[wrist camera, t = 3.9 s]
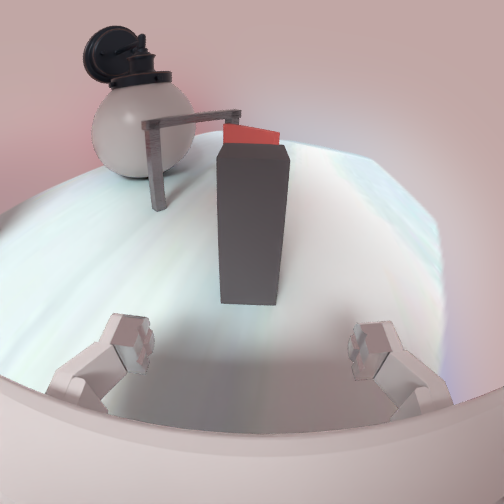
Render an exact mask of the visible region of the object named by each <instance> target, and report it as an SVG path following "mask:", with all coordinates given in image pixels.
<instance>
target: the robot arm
mask: <svg viewBox="0 0 504 504" xmlns="http://www.w3.org/2000/svg"><path fill="white" fill-rule="evenodd" d="M149 326H150V321H149V318H147V317H141V316H133V315H126V314H118V313H113V314H112V315H111V316H110V318H109V321H108V323H107V325H106V327H105V329H104V331H103V333H102V335H101V337H100V339H99V342H94V343H93V344H92V345H90V346H89V347H87V348H86V349H85V350H83V351H82V352H80V353H79V354H78V355H76V356H75V357H74V358H72V359H71V360H69V361H68V362H67V363H65V364H64V365H62V366H61V367H60V368H58V369H57V370H56V371H55V373H54V375H53V378H52V380H51V382H50V384H49V387H48V389H47V391H46V393H45V394H43V393H41V392H38V391H36V390H33V389H31V388H28V387H26V386H24V385H21V384H19V383H17V382H15V381H12V380H10V379H8V378H6V377H4V376H2V375H0V504H504V386H503V387H501V388H498V389H496V390H494V391H491V392H489V393H487V394H484V395H481V396H479V397H476V398H474V399H471V400H468V401H465V402H462V403H459V404H456V405H454V404H453V402H452V399H451V396H450V393H449V391H448V388H447V386H446V383H445V381H444V380H443V379H442V378H440V377H439V376H438V375H437V374H435V373H434V372H433V371H432V370H431V369H429V368H428V367H427V366H426V365H424V364H423V363H422V362H421V361H420V360H418V359H417V358H416V357H415V356H413V355H412V354H411V353H410V352H408V351H404V349H403V347H402V344H401V342H400V339H399V337H398V335H397V332H396V330H395V328H394V325H393V323H392V322H391V321H380V322H363V323H356V324H355V326H354V329H353V330H354V334H353V335H352V336H351V337H350V339H349V342H348V354H349V359H351V360H352V361H353V362H354V363H353V365H352V371H353V375H354V379H355V380H367V379H374V381H375V382H376V383H377V385H378V386H379V387H380V388H381V389H382V390H383V391H384V392H385V394H386V395H387V396H388V397H389V398H390V399H391V400H392V401H393V403H394V404H395V405H396V406H397V407H398V408H399V409H398V410H397V411H396V412H395V413H394V414H393V415H392V417H391V418H390V420H391V422H386V423H381V424H375V425H369V426H363V427H356V428H349V429H340V430H331V431H320V432H306V433H284V434H249V433H226V432H212V431H201V430H192V429H184V428H176V427H169V426H163V425H157V424H151V423H146V422H141V421H136V420H131V419H126V418H122V417H118V416H113V415H109V414H108V410H107V408H106V407H105V406H104V404H103V403H102V402H101V401H100V400H101V399H102V398H103V397H104V396H105V395H106V394H107V393H108V392H109V391H110V390H111V389H112V388H113V387H114V386H115V385H116V384H117V383H118V382H119V381H120V380H121V379H122V378H123V377H124V376H125V375H126V374H127V372H129V373H136V374H144V375H146V373H147V370H148V366H149V363H150V361H149V358H148V356H149V355H151V354H152V353H153V349H154V342H155V339H154V333H153V331H152V330H151V329H150V328H149Z"/></svg>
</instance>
